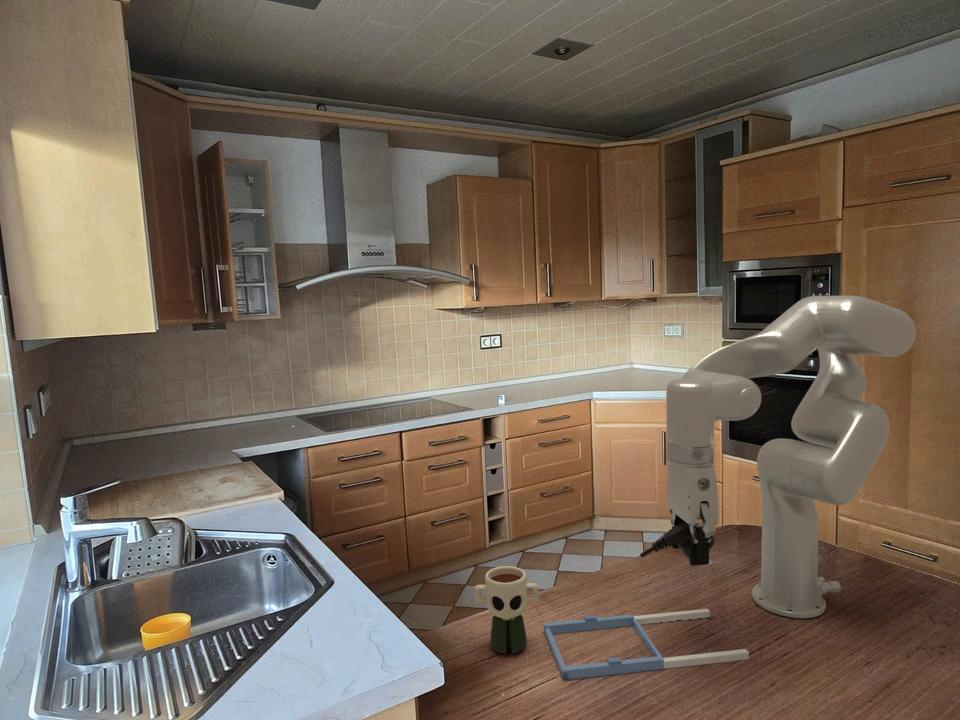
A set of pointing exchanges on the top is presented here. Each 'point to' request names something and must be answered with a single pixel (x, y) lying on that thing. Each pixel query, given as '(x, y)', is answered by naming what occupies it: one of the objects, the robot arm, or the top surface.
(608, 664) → the blue cream pronged frame
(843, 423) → the robot arm
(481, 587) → the character mug
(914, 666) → the top surface
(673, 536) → the power plug
